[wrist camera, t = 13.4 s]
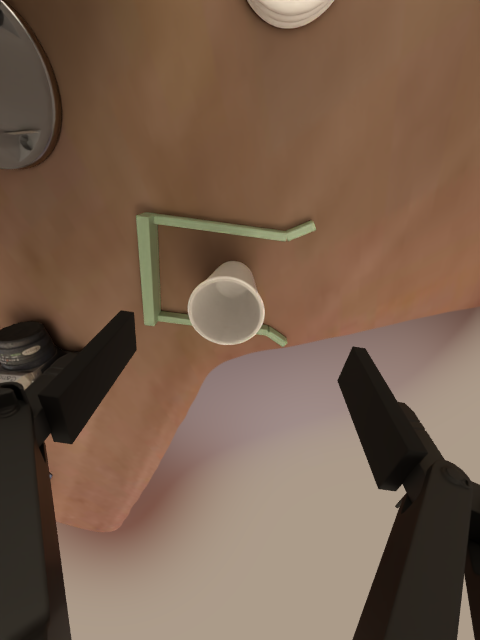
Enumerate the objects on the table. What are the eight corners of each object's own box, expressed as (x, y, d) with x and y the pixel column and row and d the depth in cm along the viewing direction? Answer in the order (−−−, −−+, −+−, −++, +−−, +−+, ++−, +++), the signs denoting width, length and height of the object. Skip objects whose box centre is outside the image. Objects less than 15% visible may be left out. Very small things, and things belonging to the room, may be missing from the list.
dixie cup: (194, 290, 38) (175, 324, 29) (221, 239, 34) (207, 261, 25) (244, 316, 39) (240, 357, 31) (275, 270, 35) (280, 302, 27)
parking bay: (152, 324, 41) (145, 334, 38) (144, 197, 32) (134, 199, 29) (285, 342, 41) (287, 353, 38) (315, 220, 32) (320, 224, 29)
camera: (87, 320, 42) (41, 359, 33) (102, 370, 47) (65, 415, 38) (-7, 315, 42) (-77, 352, 34) (17, 364, 47) (-37, 407, 39)
